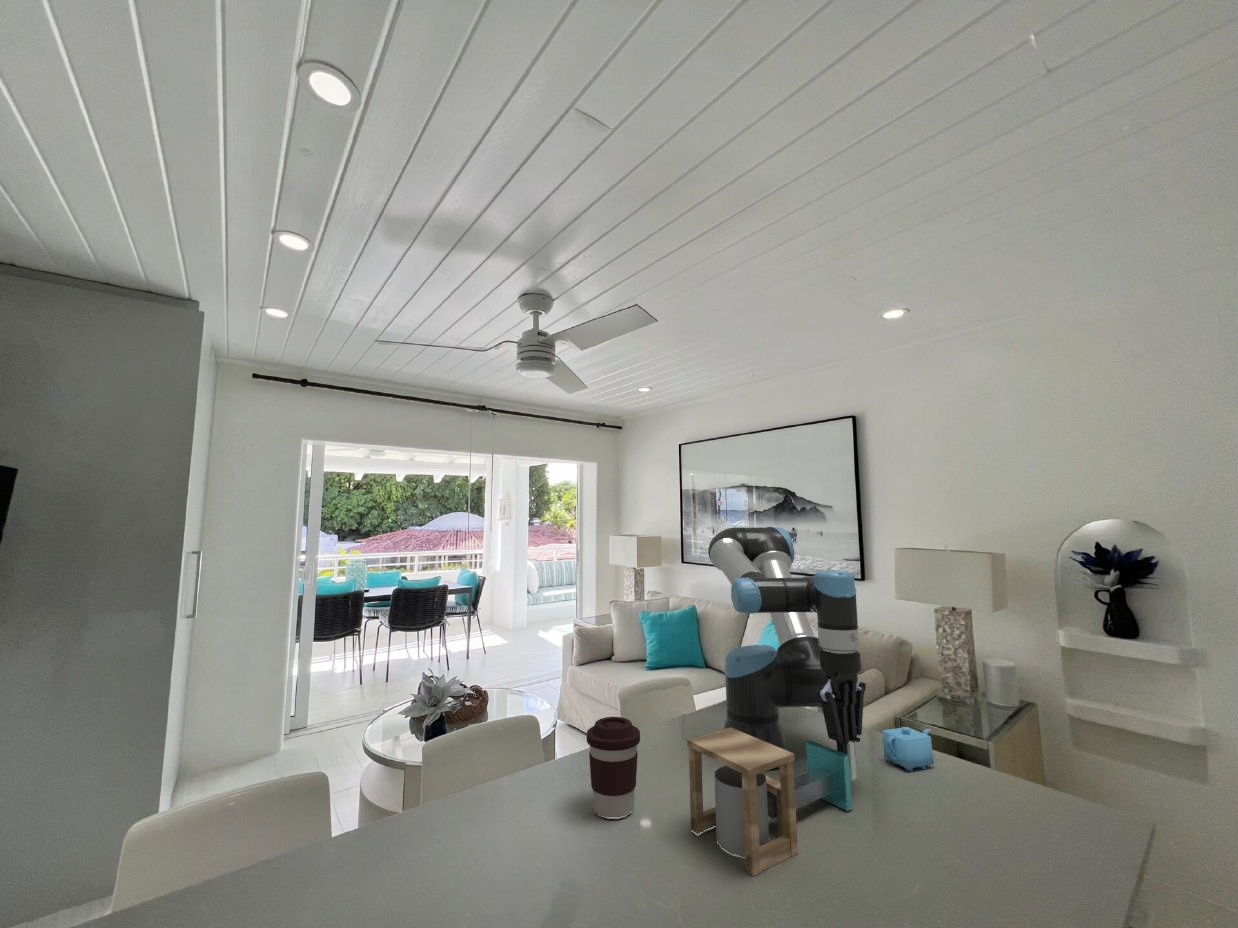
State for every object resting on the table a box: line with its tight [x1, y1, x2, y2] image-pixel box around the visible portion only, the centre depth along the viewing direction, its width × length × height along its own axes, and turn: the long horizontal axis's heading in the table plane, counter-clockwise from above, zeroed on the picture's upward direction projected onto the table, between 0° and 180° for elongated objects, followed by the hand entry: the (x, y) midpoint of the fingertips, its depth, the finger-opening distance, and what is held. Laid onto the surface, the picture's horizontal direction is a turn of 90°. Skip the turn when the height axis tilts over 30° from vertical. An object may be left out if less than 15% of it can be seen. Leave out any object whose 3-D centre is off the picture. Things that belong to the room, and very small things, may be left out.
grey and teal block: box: [767, 740, 853, 820], centre depth 91 cm, size 18×8×9 cm, turn 123°
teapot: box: [881, 726, 934, 772], centre depth 111 cm, size 12×6×8 cm, turn 107°
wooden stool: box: [686, 727, 799, 877], centre depth 84 cm, size 14×13×14 cm
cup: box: [714, 765, 770, 857], centre depth 83 cm, size 8×8×10 cm
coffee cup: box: [586, 716, 641, 817], centre depth 93 cm, size 10×10×15 cm
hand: (848, 776), depth 98 cm, fingers closed
